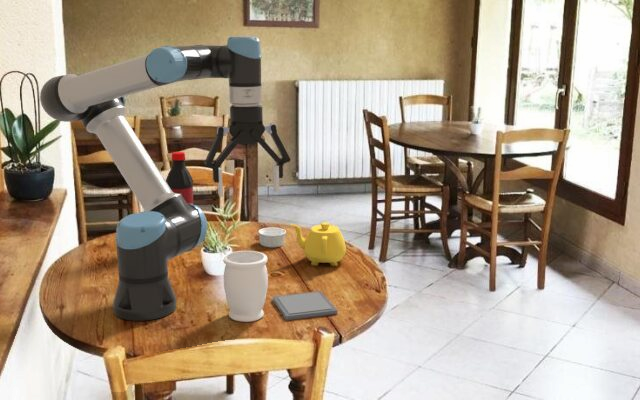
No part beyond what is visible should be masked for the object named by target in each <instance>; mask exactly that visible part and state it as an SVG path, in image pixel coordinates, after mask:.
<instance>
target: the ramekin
mask: <svg viewBox="0 0 640 400" xmlns="http://www.w3.org/2000/svg"><path fill="white" fill-rule="evenodd" d="M257 233H258V237H259V239H258V240H259V244H260V245H261V246H262V247H265V248H280V247H282V246H284V245H285V243H286V241H285V240H286V234H287V231H286V229H284V228H280V227H275V226H274V227H272V226H271V227H263V228H261V229H259V230H258V232H257Z"/></svg>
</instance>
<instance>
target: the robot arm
mask: <svg viewBox="0 0 640 400" xmlns="http://www.w3.org/2000/svg"><path fill="white" fill-rule="evenodd" d="M226 41H227V44H226V45H212V44H211V45H208V44H207V45H206V44H195V45H186V46H184V45H183V46H172V45H167V46H162V47H156V48H154V49H152V50H151V52H150V53H146V54H143V55H141V56H137V57H133V58H131V59H127V60H125V61H122V62H118V63H115V64H114V63H113V64H112V65H107V66H104V67H101V68H98V69H94V70H91V71H89V72H85V73H82V74H74V73H67V74H64V75H63V74H62V75H58V76H54V77H52V78H49V79H48V80H47V81H46V82H45V83H44V85H43V86H42V87H41V90H40V94H39V101H40V104H41V107H42V108H43V111H44V112H45V113H46V115H48V116H49V117H51V118H52V119H54V120H56V121H58V122H59V121H60V122H64V123H65V122H66V123H67V122H68V123H69V122H79V121H80V122H81V124H82V125H83V126H84V129H85V130H86V131H87V132H88V133H91V134H94V135H96V136H97V138H98V139H99V141H100V142H101V144H102V146H103V147H104V149H105V150H106V152H107V153H108V155H109V157H110V158H111V160H112V161H113V164H114V165H115V166H116V167H117V169H118V171H119V173H120V174H121V175H122V177H123V178H124V180H125V182H126V183H127V185H128V187H129V188H130V190H131V192H132V193H133V195H134V196H135V198H136V199H137V201H138V203H140V205H141V206H142V207H141V208H142V209H143V211H141V212H135V213H132V214H128V215H126V216H125V217H123V218H121V219H120V220H119V221H118V222H117V225H116V231H115V232H116V234H115V243H116V254H117V255H116V256H117V267H118V268H117V269H118V285H117V288H116V290H115V291H116V292H115V295H114V299H113V304H112V306H113V314H114V315H115V316H116V317H117V318H119V319H122V320H126V321H132V322H142V321H143V322H144V321H145V322H146V321H151V320H152V321H153V320H157V319H161V318H164V317H167V316H168V315H171V314H173V312H175V311H176V309H177V304H178V303H177V295H176V293H175V291H174V289H173V285H172V283H171V281H170V278H169V270H168V266H169V264H168V262H169V260H171V259H174V258H175V257H178V256H179V255H182V254H184V253H187V252H190V251H193V250H194V249H195V248H196V247H198V246H200V245H201V244H202V243H203V242H204V241H205V238H206V236H207V230H208V221H207V217H206V215H205V213H204V211H203V210H202V209H201V207H200V206H198V205H196V204H194V203H193V204H190V203H189V204H187V203H186V201H185V200H184V198H183V197H182V195H181V194H178V193H174V192H172V190H171V189H170V187H169V186H168V184H167V182H166V178H164V176H163V175H162V173H161V172H160V170H159V168H158V167H157V165H156V164H155V162H154V160H153V159H152V158H151V156H150V154H149V153H148V151H147V150H146V148H145V146H144V145H143V143H142V142H141V141H140V139H139V137H138V135H137V134H136V132H135V131H134V130H133V128H132V126H131V124H130V123H129V122H128V120H127V118H126V114H127V107H126V102H127V101H126V100H127V99H126V98H125V97H126V96H129V95H130V96H131V95H134V94H138V93H140V92H144V91H147V90H152V89H155V88H159V87H161V86H166V85H170V84H175V83H177V82H182V81H184V82H185V81H192V80H194V81H195V80H202V79H203V80H204V79H228V88H229V90H228V91H229V92H228V93H229V95H228V96H229V103H230V104H231V106H230V107H229V115H230V116H229V121H230V122H229V123H230V124H229V126H228V127H227V126H222V125H218V126H217V127H216V135H215V137H214V140H213V143H212V144H211V146H210V149H209V151H208V153H207V156H206V158H205V160H204V162H203V164H204V165H205V167H207V168H211V169H212V180H213V182H214V183H217V194H218V196H219V197H220V198H223V197H224V188H223V187H224V185H223V169H222V167H221V166H222V164H223V163H224V162H225V160H226V159H228V157H229V156H230V154H231V153H232V152H233V150H234V149H235V148H236V147H238V145H241V146H246V145H253V146H254V145H256V144H257V143H258V144H259V145H260V146H261V147H262V148H263V150H264V151H265V152H266V153H267V154H268V155H269V156H270V157H271V158H272V160H274V162H275V163H273V164H272V165H273V166H272V170H273V179H272V180H273V192H275V194H279V193H280V179H283V177H284V165H285V164H287V163H290V162H291V157H290V155H289V153H288V152H287V150H286V148H285V146H284V144H283V142H282V140H281V138H280V137H279V134H278V130H277V125H276V124H273V123H269V124H267V125H264V123H263V121H264V119H263V117H264V115H263V106H262V104H261V103H262V102H263V91H262V52H261V42H260V41H261V40H260V39H259V38H258V37H257V36H229V37H228V38H227V40H226ZM265 131H266V133H268V135H270V136H271V138H272V141H273V142H274V144H275V147H276V148H277V150H278V152H279V153H280V155H281V157H279V156H278V154H277V153H276V152H275V151H274V150H273V148H271V147H270V146H269V144H268V143H267V142H266V141H265V140H264V139H263V137H262V136H263V134H264V133H265ZM228 133H229V134H230V135H231V139H230V140H229V141H228V143H227V145H226V146H225V147H224V148H223V150H221V152H220V153H219V155H218V156H217V158H215V157H216V155H217V153H218V150H219V148H220V146H221V143H222V141H223V139H224V137H225V136H227V134H228ZM214 159H215V160H214Z"/></svg>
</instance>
